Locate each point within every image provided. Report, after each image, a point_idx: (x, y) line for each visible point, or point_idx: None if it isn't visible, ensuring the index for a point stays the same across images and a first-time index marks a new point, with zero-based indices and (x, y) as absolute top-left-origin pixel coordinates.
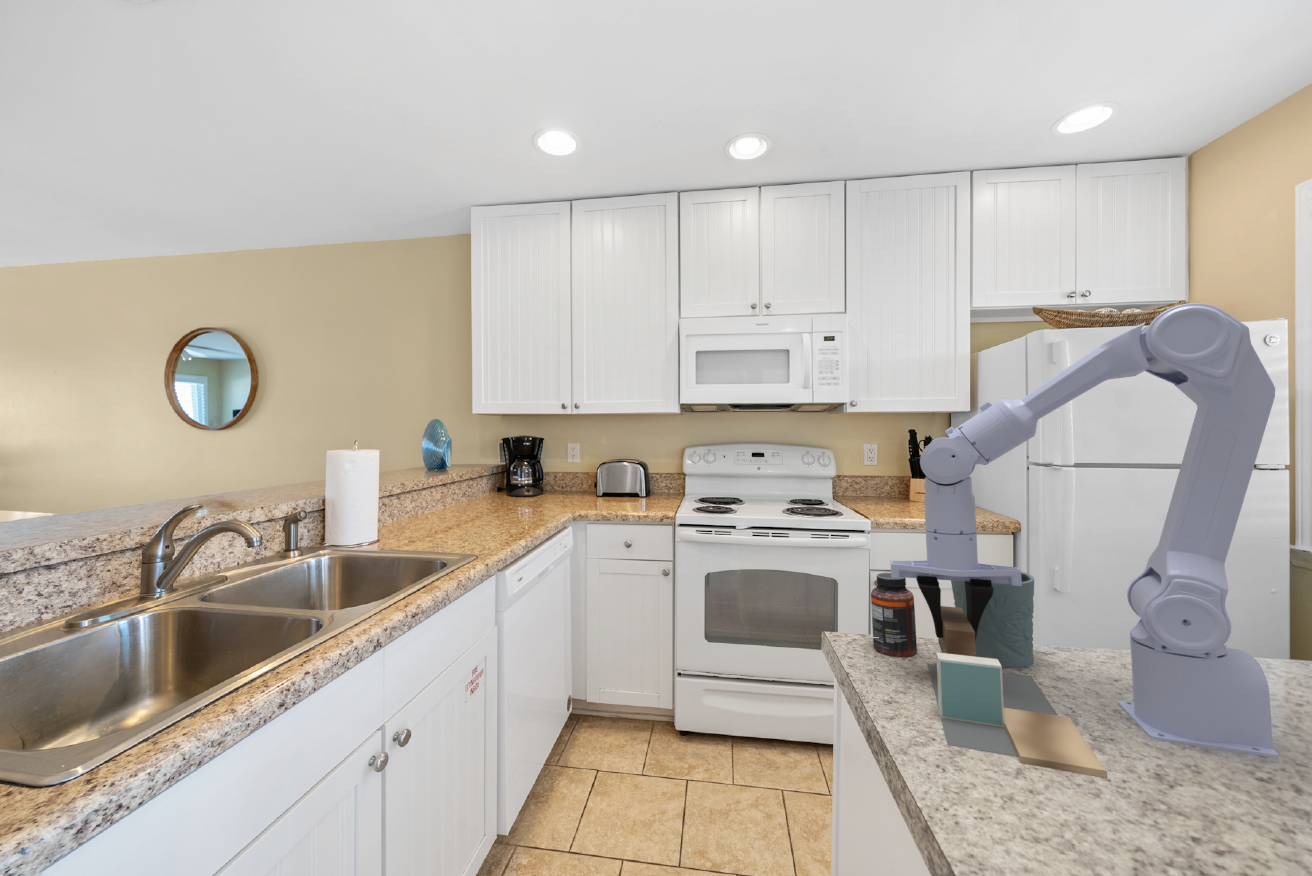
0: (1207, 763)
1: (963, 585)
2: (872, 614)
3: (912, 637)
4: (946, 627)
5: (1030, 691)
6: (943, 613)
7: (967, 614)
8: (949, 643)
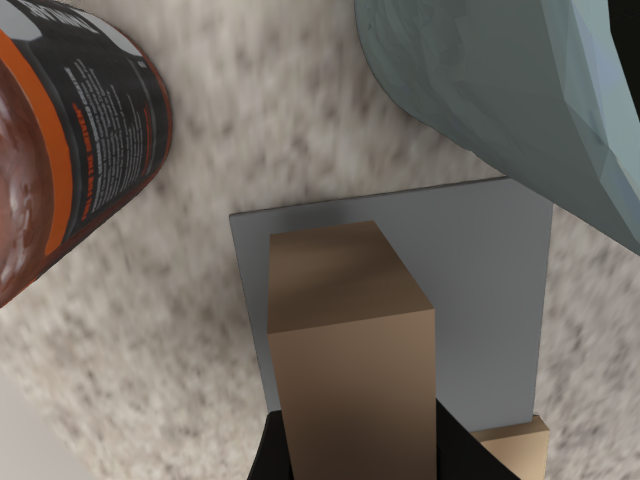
0: None
1: (578, 200)
2: None
3: (144, 176)
4: None
5: (514, 299)
6: (314, 468)
7: (447, 475)
8: None
